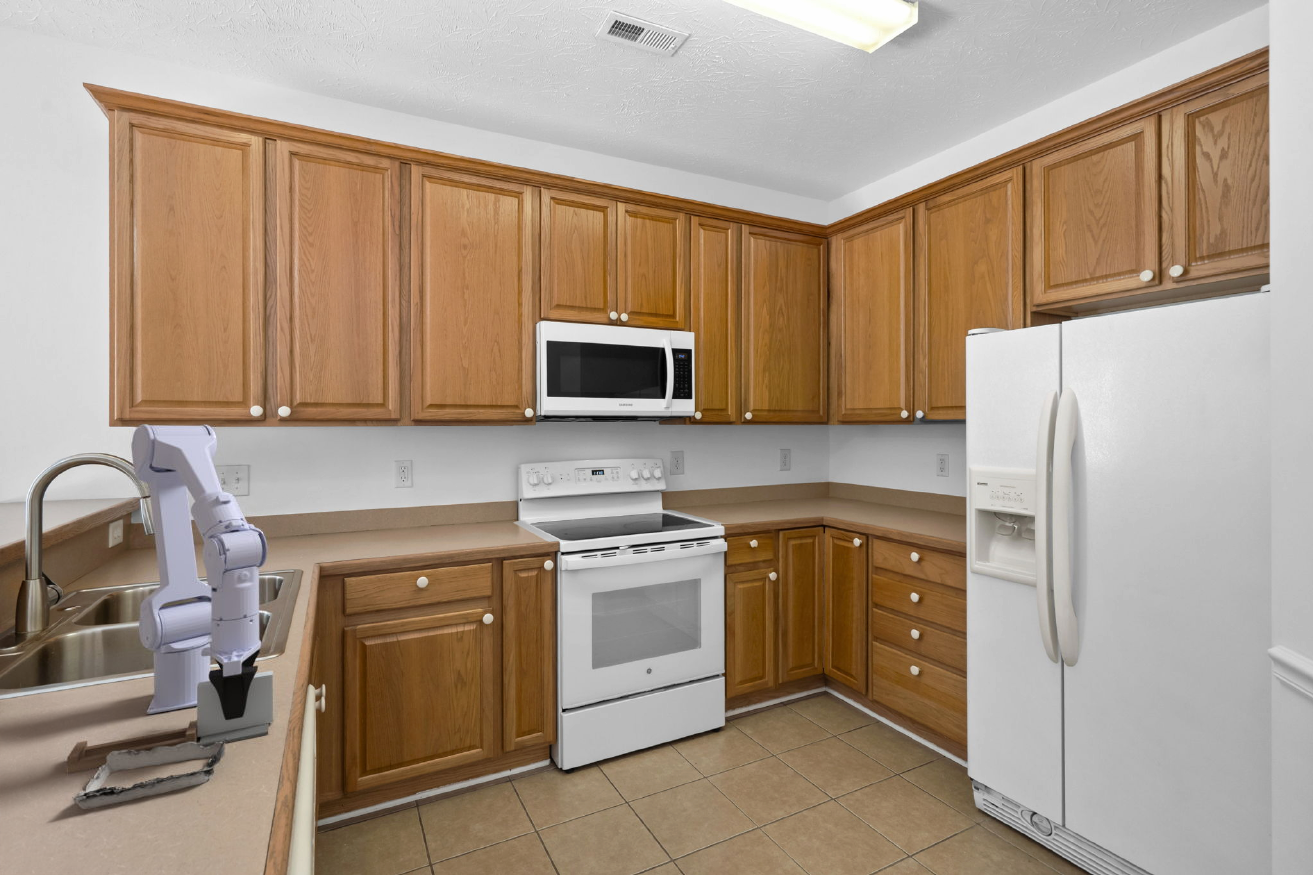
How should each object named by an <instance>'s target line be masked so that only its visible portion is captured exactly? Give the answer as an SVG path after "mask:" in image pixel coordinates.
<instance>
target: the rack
mask: <svg viewBox="0 0 1313 875" xmlns="http://www.w3.org/2000/svg"><path fill="white" fill-rule="evenodd" d="M187 726H188V727H183V728H177V729H173V730H168V731H163V732H157V733H153V734H152V733H151V734H146V735H141V736H137V737H132V738H131V737H130V738H126V739H121V740H115V741H110V742H105V743H104V742H103V743H100V744H94V745H89V746H88V740H84V741H77V742H76V743H75V745H74V746H73V748H72V750H71V751H70V753H69V755H68V756H66V757H67V758H66V761H67V762H66V763H67V764H66V766H67V771H66V773H67V774H70V773H76V772H81V771H85V770H89V769H95V768H99V767H102V765H105V764H106V762H107V759H106V758H107V756H108V755H109V754H110V753H111V752H112V751H122V750H134V751H136V752H140V751H141V750H145V751H151V750H152V749H153V748H155V747H159V746H169V747H171V746H176V745H178V744H182V743H186V742H190V741H194V742H196V743H198V742H197V741H198V738H199V737H197V719H196V720H190V721H189V723H188V725H187Z"/></svg>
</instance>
